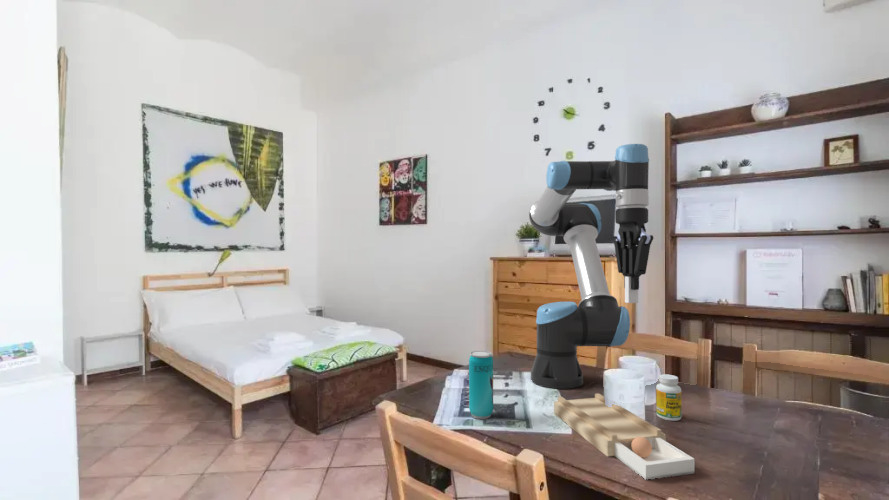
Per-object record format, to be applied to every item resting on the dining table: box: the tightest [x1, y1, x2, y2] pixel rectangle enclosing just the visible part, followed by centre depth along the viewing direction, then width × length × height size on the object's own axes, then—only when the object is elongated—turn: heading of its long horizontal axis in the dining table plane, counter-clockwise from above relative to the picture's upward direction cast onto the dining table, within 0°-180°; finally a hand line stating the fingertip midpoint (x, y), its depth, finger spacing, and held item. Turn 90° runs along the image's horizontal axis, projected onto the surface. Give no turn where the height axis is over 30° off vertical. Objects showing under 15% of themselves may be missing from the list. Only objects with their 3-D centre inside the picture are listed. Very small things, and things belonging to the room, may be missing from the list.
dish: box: [613, 437, 696, 481], centre depth 82 cm, size 10×10×3 cm
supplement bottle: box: [655, 373, 683, 422], centre depth 104 cm, size 5×5×10 cm
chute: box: [553, 392, 667, 457], centre depth 96 cm, size 22×13×4 cm, turn 13°
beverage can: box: [468, 350, 494, 420], centre depth 105 cm, size 6×6×15 cm
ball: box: [631, 437, 652, 458], centre depth 83 cm, size 4×4×4 cm
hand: (631, 302), depth 109 cm, fingers closed
